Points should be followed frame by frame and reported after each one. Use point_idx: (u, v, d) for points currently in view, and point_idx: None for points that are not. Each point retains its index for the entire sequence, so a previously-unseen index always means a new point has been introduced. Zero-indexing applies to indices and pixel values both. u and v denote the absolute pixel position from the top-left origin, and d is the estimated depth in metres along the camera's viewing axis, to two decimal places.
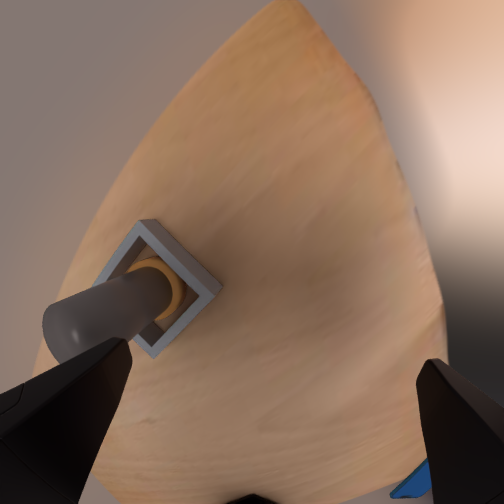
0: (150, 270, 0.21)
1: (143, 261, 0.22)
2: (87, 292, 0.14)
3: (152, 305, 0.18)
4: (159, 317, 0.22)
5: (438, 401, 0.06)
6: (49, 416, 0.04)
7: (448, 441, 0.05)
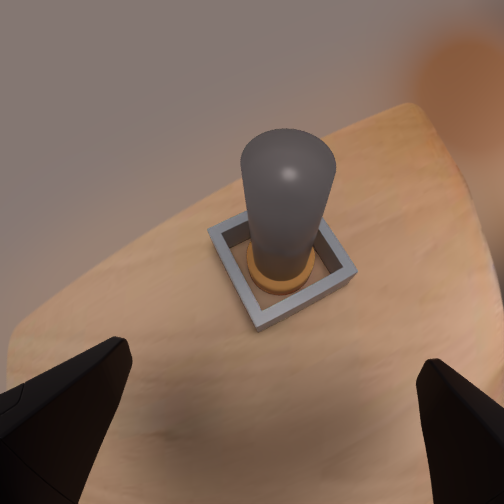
0: None
1: None
2: None
3: None
4: (280, 285, 0.20)
5: (438, 401, 0.06)
6: (48, 415, 0.04)
7: (448, 441, 0.05)
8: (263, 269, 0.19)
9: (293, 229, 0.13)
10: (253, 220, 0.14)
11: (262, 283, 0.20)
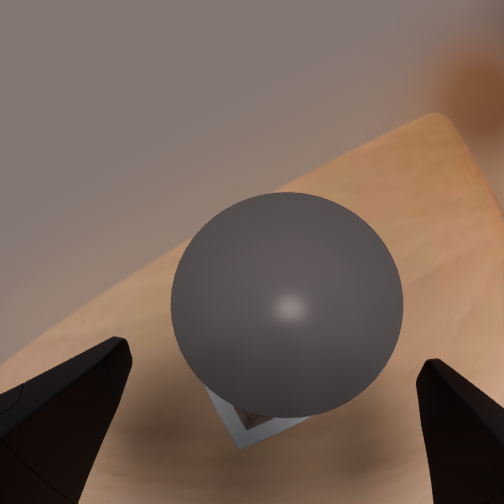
0: None
1: None
2: None
3: None
4: None
5: (438, 401, 0.06)
6: (49, 416, 0.04)
7: (448, 441, 0.05)
8: None
9: None
10: None
11: None
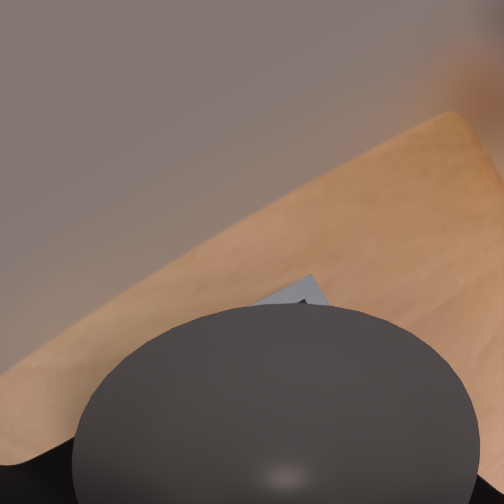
0: None
1: None
2: None
3: None
4: None
5: None
6: None
7: None
8: None
9: None
10: None
11: None
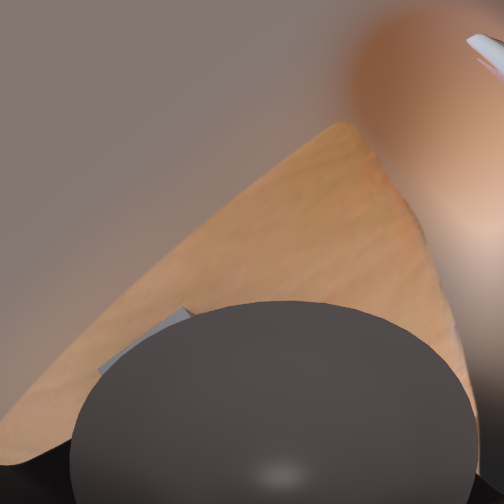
0: None
1: None
2: None
3: None
4: None
5: None
6: None
7: None
8: None
9: None
10: None
11: None
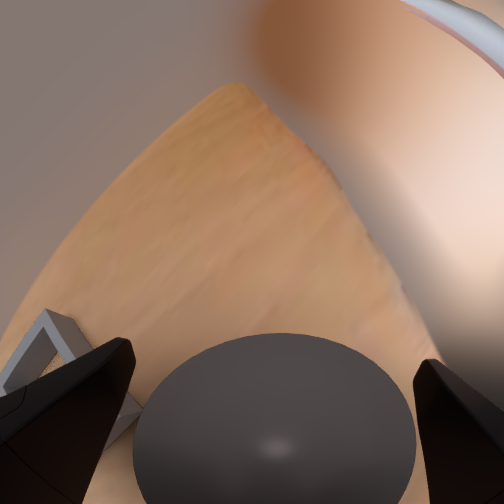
0: None
1: None
2: None
3: None
4: None
5: (434, 402, 0.06)
6: (53, 418, 0.04)
7: (445, 442, 0.05)
8: None
9: None
10: None
11: None
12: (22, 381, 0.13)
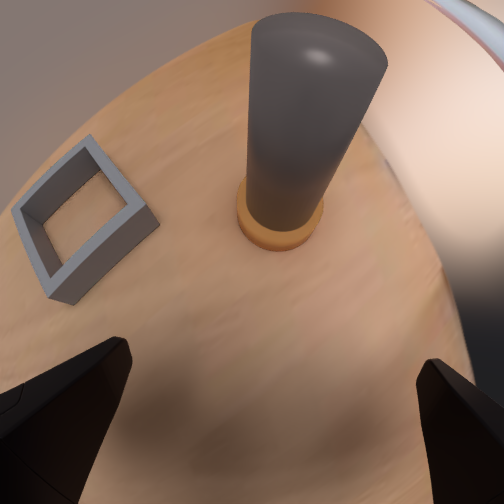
0: None
1: None
2: None
3: None
4: (276, 236, 0.15)
5: (438, 401, 0.06)
6: (49, 415, 0.04)
7: (448, 441, 0.05)
8: (257, 211, 0.14)
9: (316, 138, 0.08)
10: (257, 123, 0.09)
11: (253, 231, 0.16)
12: (39, 210, 0.16)
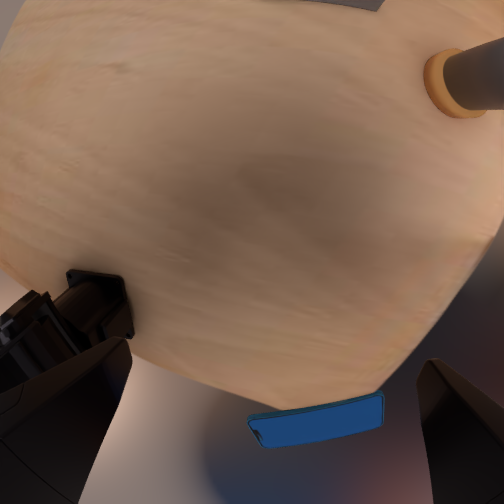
0: None
1: None
2: None
3: None
4: (446, 94, 0.13)
5: (438, 401, 0.06)
6: (49, 416, 0.04)
7: (448, 441, 0.05)
8: (453, 71, 0.11)
9: None
10: None
11: (436, 76, 0.12)
12: None
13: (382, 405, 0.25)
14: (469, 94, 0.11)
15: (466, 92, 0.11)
